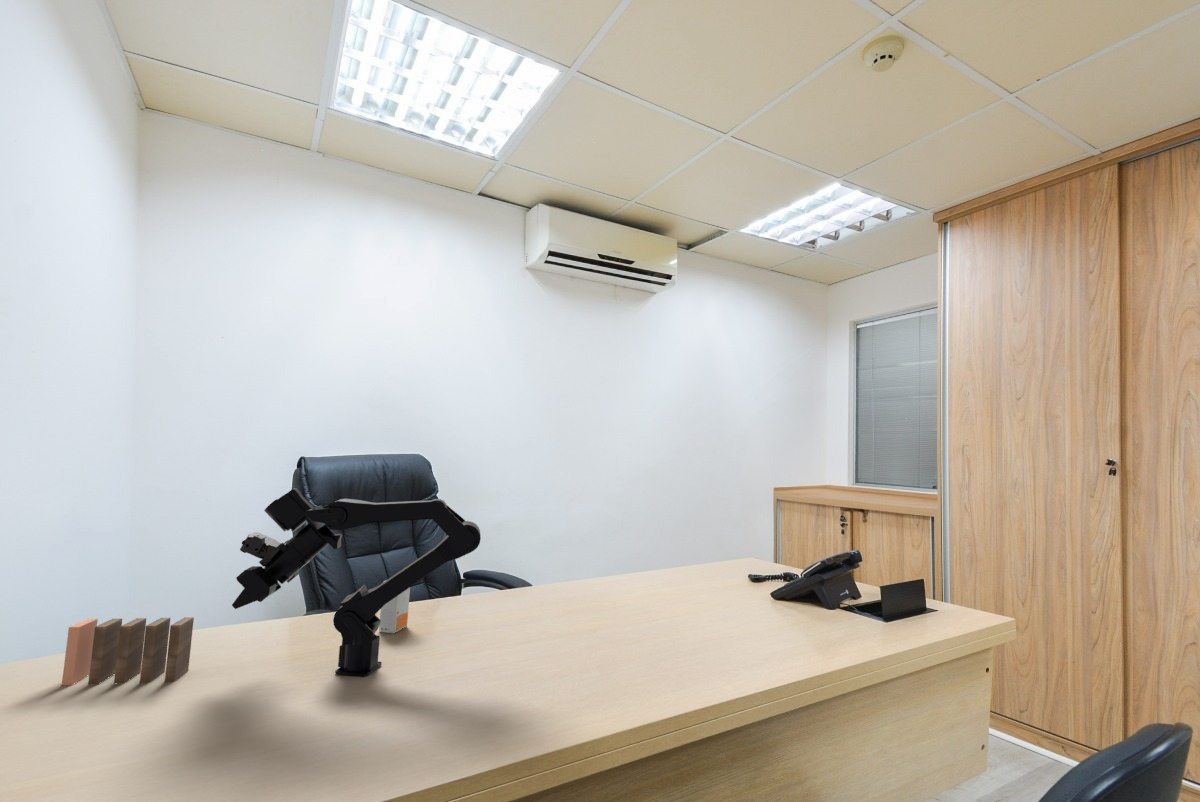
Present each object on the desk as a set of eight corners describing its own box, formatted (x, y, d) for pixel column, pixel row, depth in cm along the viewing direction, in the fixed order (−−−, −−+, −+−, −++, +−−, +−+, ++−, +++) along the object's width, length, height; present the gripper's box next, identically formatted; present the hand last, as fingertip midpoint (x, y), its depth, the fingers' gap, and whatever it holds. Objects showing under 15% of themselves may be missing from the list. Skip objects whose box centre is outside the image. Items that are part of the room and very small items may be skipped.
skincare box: (394, 634, 134) (398, 582, 135) (378, 632, 135) (382, 580, 136) (408, 626, 140) (411, 577, 141) (392, 625, 140) (396, 575, 142)
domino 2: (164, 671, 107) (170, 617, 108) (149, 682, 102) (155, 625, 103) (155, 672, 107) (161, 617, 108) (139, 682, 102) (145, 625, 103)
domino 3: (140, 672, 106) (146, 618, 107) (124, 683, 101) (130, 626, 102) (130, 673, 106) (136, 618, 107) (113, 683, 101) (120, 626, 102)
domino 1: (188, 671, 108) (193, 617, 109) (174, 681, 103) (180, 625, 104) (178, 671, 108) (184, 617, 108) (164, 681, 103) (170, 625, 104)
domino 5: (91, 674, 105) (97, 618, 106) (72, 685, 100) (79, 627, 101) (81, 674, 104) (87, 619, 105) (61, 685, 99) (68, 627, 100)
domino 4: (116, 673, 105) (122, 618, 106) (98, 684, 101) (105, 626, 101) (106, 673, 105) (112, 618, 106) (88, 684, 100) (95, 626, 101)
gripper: (288, 513, 120) (225, 566, 117) (254, 525, 102) (178, 588, 98) (325, 551, 121) (263, 605, 118) (297, 569, 103) (224, 633, 99)
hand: (234, 606), depth 108 cm, fingers closed
